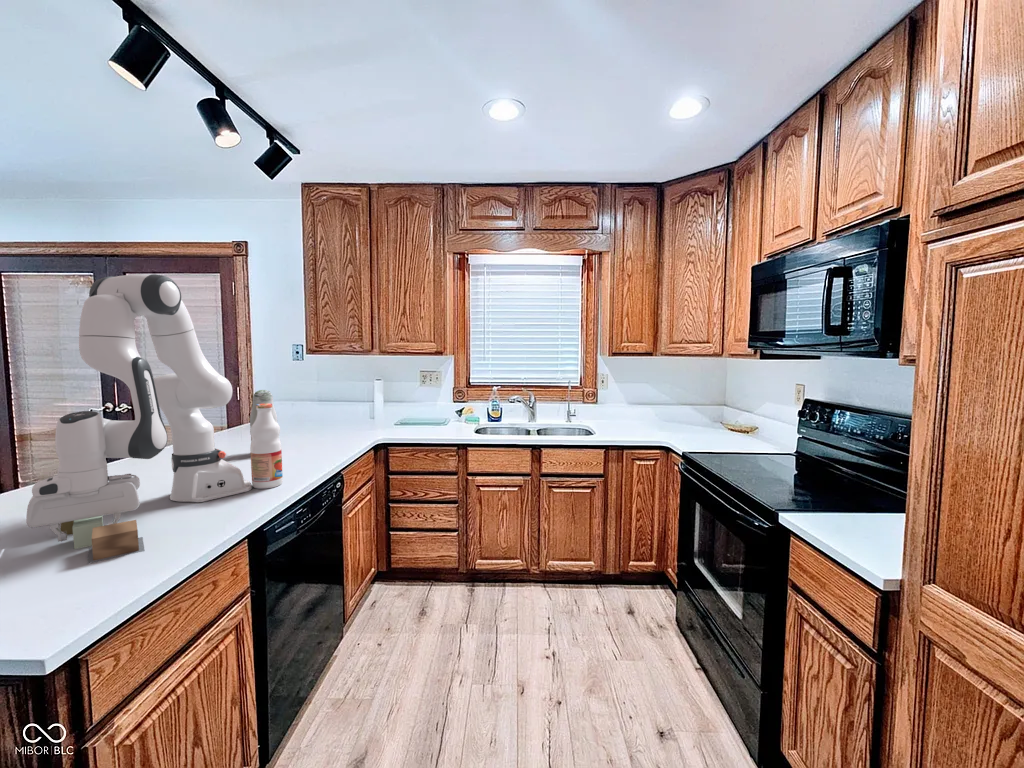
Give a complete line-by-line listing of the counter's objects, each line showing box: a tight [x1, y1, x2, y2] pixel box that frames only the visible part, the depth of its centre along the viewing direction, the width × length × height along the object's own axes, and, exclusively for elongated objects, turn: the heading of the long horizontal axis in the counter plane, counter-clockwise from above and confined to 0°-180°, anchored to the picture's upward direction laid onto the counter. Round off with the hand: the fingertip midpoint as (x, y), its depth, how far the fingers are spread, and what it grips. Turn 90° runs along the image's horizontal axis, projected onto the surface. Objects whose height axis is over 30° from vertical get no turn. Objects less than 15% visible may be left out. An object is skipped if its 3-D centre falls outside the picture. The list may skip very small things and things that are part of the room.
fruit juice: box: [249, 403, 284, 490], centre depth 161 cm, size 9×9×28 cm
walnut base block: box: [91, 519, 139, 561], centre depth 110 cm, size 8×8×5 cm
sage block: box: [72, 515, 104, 550], centre depth 115 cm, size 5×7×6 cm
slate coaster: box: [86, 536, 145, 565], centre depth 111 cm, size 10×10×1 cm
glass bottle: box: [249, 389, 278, 443], centre depth 204 cm, size 10×10×28 cm
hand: (88, 535), depth 115 cm, fingers open, 8 cm apart
